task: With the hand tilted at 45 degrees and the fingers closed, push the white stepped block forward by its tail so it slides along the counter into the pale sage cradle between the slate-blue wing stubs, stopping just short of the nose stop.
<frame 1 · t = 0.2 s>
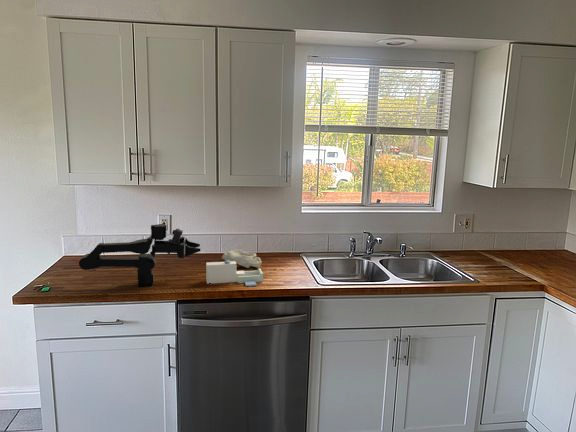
hand: (200, 247, 199), 17 cm above the worktop, tool horizontal, fingers open, 9 cm apart
sculpture: (241, 265, 230), on the worktop
cradle: (248, 279, 205), on the worktop
white stepped block: (225, 281, 203), on the worktop
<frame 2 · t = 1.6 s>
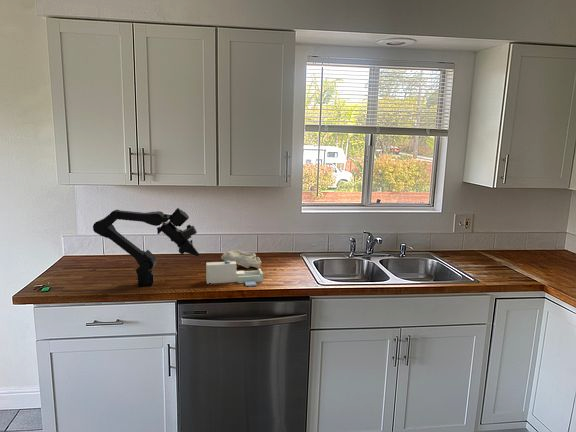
hand: (198, 255, 197), 13 cm above the worktop, tool tilted 45°, fingers closed
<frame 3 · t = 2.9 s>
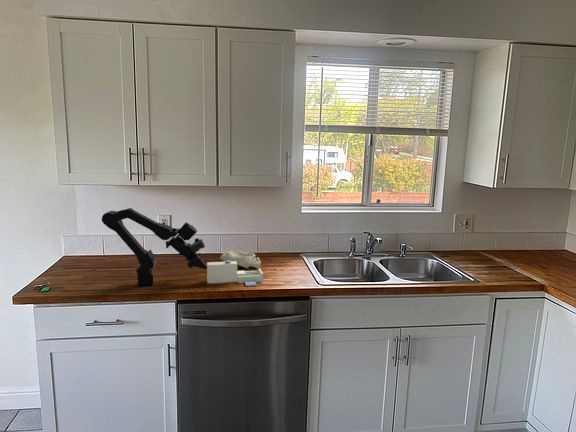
hand: (206, 268, 199), 7 cm above the worktop, tool tilted 45°, fingers closed, pressing on white stepped block
white stepped block: (226, 280, 203), on the worktop, touching gripper
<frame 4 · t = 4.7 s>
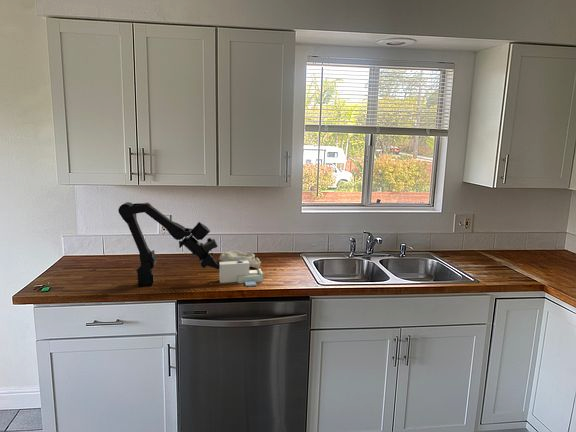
hand: (218, 268, 201), 7 cm above the worktop, tool tilted 45°, fingers closed
white stepped block: (238, 280, 204), on the worktop
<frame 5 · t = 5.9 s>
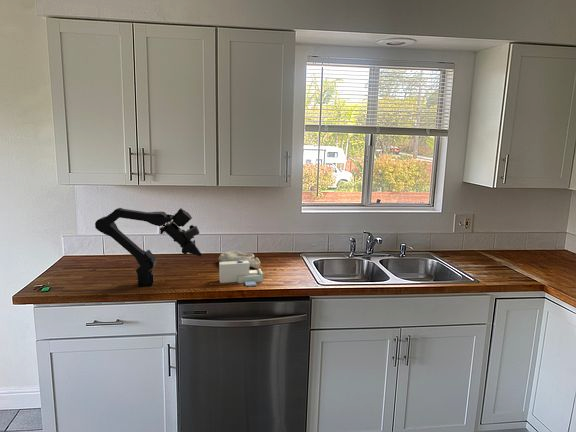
hand: (201, 255, 198), 13 cm above the worktop, tool tilted 45°, fingers closed
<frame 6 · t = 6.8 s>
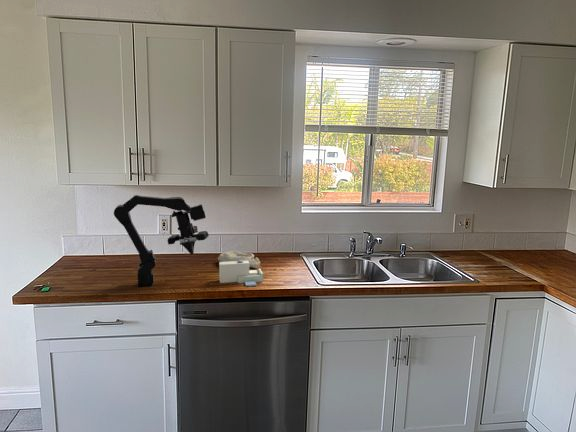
hand: (192, 254, 201), 13 cm above the worktop, tool pointing down, fingers closed
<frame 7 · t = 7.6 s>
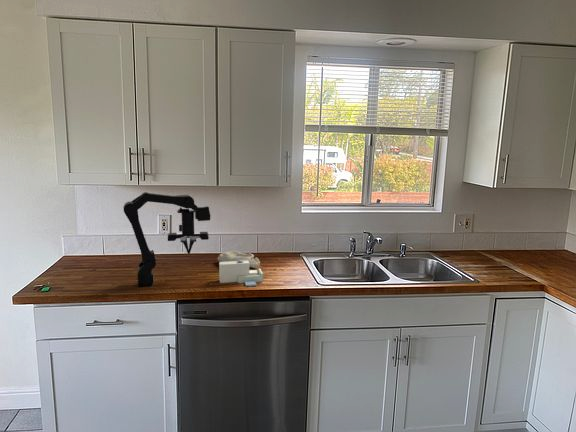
hand: (188, 253, 201), 13 cm above the worktop, tool pointing down, fingers closed
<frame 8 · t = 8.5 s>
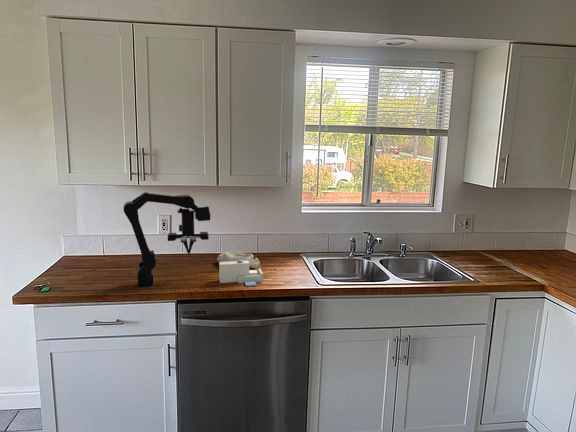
hand: (188, 253, 201), 13 cm above the worktop, tool pointing down, fingers closed
at the end: white stepped block 0.3 cm from the target spot on the cradle, point 0.0 cm above the cradle's base; white stepped block tilted 0°; the gripper is holding nothing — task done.
